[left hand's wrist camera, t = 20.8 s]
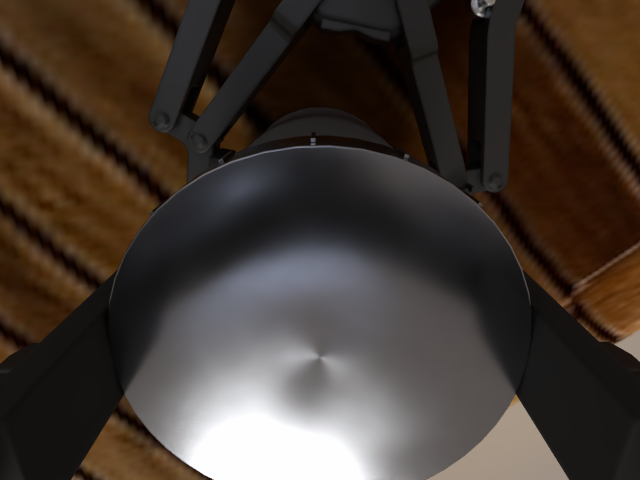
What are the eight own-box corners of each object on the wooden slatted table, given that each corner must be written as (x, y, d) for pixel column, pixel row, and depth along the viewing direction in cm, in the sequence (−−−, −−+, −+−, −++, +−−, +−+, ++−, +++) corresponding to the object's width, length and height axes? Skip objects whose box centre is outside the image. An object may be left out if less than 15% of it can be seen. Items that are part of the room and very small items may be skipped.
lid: (584, 269, 12) (626, 300, 10) (366, 498, 15) (372, 548, 13) (246, 44, 10) (231, 36, 8) (80, 368, 13) (46, 408, 11)
